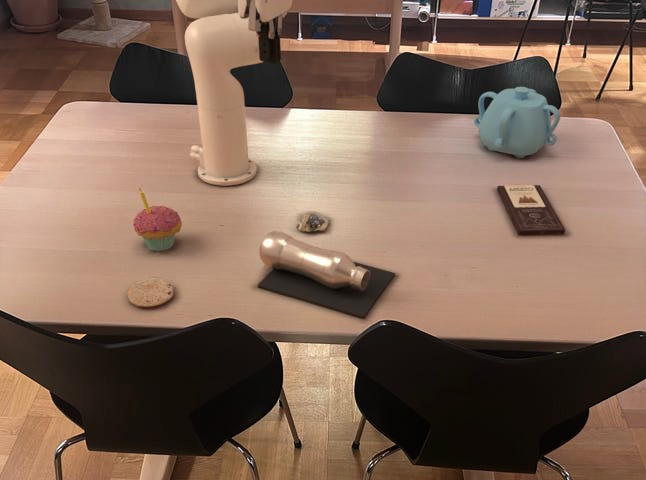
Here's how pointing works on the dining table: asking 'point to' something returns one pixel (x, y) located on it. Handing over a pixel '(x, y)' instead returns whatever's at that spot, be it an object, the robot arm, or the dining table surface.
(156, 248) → the cupcake
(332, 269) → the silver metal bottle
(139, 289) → the flatbread
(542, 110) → the decorative pot
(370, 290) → the mat
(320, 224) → the mineral rock
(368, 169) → the dining table surface
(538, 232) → the chocolate bar
